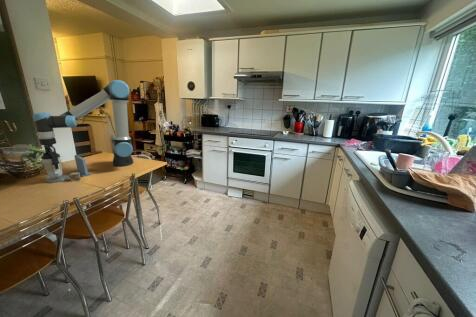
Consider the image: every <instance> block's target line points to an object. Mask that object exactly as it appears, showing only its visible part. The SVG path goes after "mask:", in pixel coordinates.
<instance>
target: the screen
mask: <svg viewBox="0 0 476 317" xmlns="http://www.w3.org/2000/svg"><path fill="white" fill-rule="evenodd" d="M73 157H74V160H75V164H76V169H75V170H74V173H75V172H80V177H82V178H85V177H89V176H91V175H92V173H91V172H90V171H88V166H87V161H86V159H85V158H84V157H81V155H78V154H75V155H74V156H73Z"/></svg>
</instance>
